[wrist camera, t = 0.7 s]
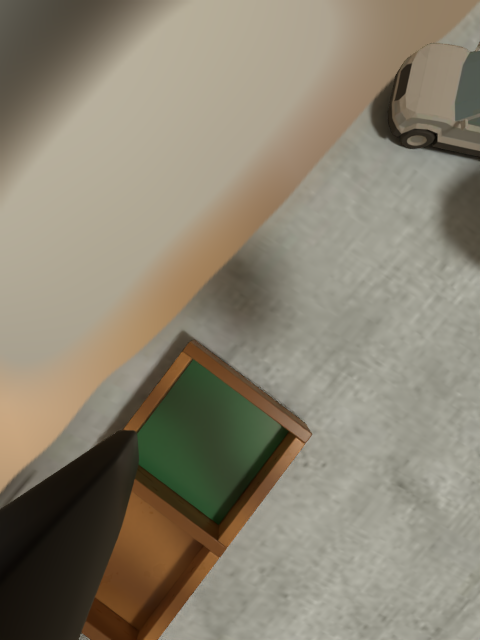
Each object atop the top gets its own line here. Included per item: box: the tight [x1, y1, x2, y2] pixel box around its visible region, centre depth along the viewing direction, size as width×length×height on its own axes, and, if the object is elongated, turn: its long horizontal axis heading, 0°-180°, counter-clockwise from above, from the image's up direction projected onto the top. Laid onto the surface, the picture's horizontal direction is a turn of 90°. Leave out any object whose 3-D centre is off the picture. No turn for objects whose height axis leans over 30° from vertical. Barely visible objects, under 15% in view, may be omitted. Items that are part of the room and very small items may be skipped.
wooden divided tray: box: [81, 340, 312, 640], centre depth 23 cm, size 19×10×2 cm, turn 143°
